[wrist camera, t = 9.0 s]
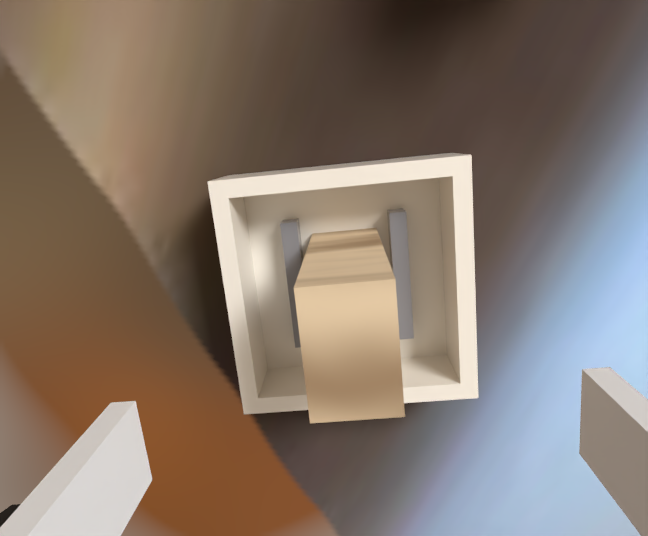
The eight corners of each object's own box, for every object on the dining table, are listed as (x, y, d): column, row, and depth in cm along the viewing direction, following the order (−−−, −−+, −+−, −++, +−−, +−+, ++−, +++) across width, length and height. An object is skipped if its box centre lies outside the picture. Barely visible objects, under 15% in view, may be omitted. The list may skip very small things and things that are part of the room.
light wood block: (312, 233, 31) (293, 287, 20) (376, 227, 31) (395, 279, 19) (322, 323, 33) (310, 423, 21) (383, 318, 32) (405, 416, 21)
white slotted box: (228, 175, 31) (207, 181, 27) (451, 152, 31) (471, 154, 26) (257, 376, 35) (243, 414, 30) (459, 361, 34) (478, 398, 29)
